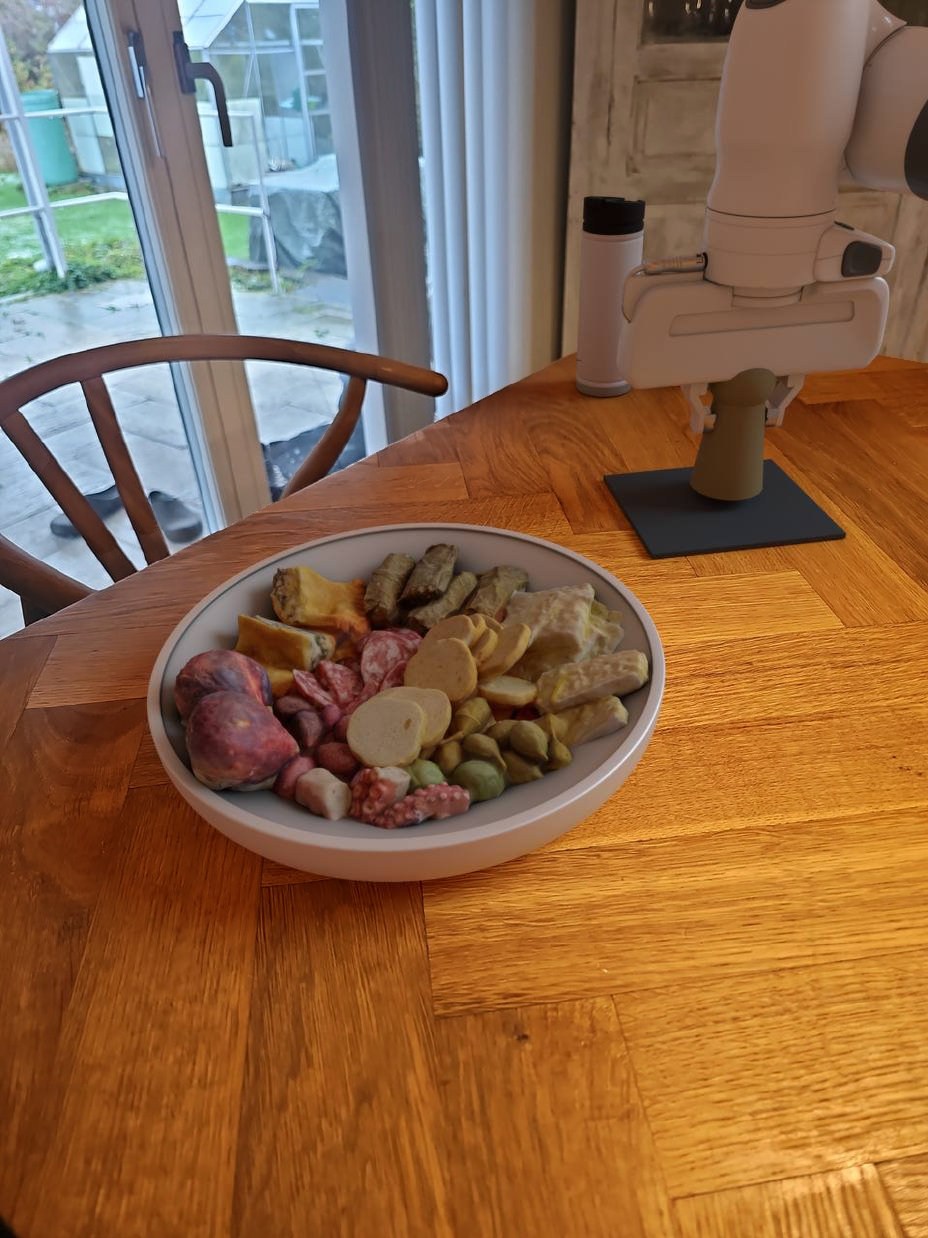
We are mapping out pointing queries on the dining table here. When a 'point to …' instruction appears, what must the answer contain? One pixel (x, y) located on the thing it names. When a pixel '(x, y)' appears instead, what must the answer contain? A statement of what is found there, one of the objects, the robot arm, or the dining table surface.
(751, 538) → the mat
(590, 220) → the travel mug
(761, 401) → the brown tapered knobbed piece
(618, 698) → the bowl
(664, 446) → the dining table surface
